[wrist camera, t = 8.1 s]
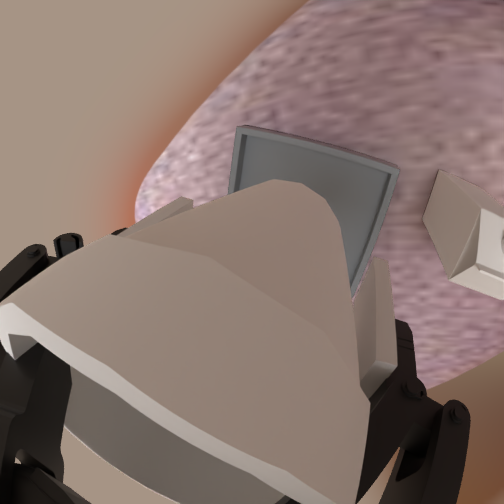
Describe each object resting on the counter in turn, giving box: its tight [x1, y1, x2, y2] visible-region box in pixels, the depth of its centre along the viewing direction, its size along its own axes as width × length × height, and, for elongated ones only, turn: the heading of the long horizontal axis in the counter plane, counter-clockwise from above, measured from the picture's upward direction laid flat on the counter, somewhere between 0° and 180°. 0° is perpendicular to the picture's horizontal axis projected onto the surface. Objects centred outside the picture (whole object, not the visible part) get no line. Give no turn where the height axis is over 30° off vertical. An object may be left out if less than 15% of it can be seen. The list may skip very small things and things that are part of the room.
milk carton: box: [422, 170, 504, 300], centre depth 23 cm, size 7×7×19 cm
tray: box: [228, 125, 400, 298], centre depth 38 cm, size 20×20×3 cm
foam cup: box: [0, 179, 370, 504], centre depth 10 cm, size 10×9×13 cm
